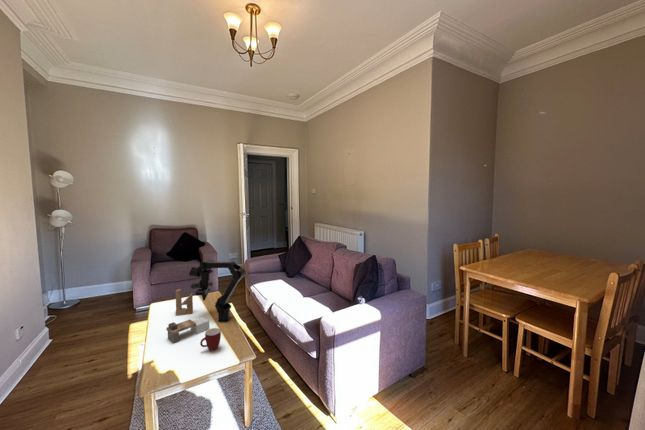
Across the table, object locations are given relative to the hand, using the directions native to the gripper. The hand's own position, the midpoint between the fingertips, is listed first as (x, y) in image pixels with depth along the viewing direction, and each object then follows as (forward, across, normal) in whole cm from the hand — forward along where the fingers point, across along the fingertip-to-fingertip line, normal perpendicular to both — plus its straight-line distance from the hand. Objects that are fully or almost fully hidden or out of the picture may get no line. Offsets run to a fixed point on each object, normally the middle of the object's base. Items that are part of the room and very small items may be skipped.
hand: (204, 300), depth 185 cm
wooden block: (+14, -7, -15) cm, 22 cm away
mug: (+11, +40, +17) cm, 45 cm away
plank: (+7, +24, -5) cm, 26 cm away
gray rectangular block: (+12, +21, -1) cm, 25 cm away
